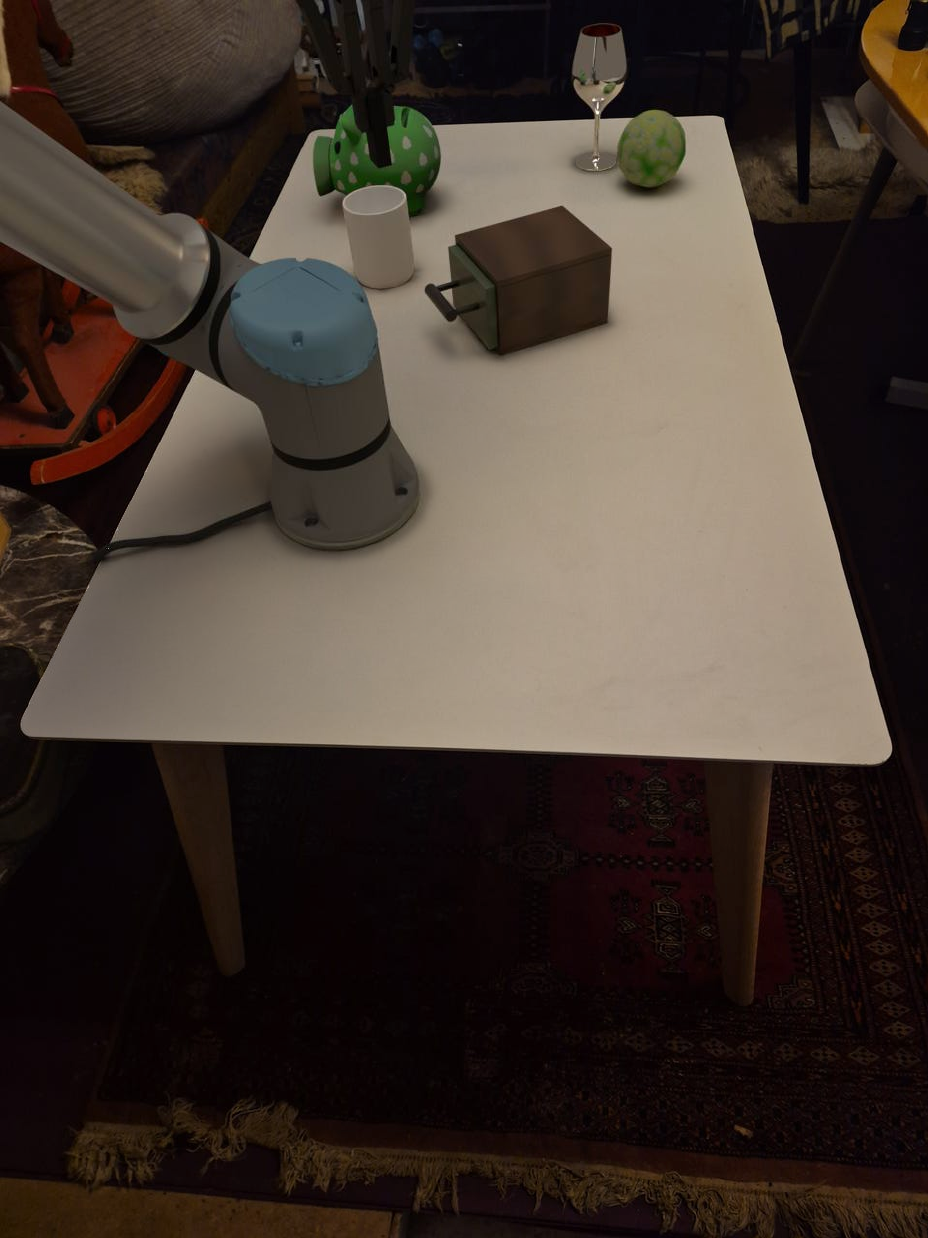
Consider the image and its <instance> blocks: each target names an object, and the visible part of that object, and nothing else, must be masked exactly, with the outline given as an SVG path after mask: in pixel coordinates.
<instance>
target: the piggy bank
mask: <svg viewBox="0 0 928 1238" xmlns="http://www.w3.org/2000/svg"><path fill="white" fill-rule="evenodd" d="M394 113H395V123H394V125H393V126H389V127H387V131H388V138H389V146H390V153H391V161H392V165H391V166H387V167H383V168H379V169H378V168H377V167H376V165H375V164H374V163H373V162H372V161H371V160H370V156H369V149H368V143H367V136H366V132H365V133H362V132H361V131H360V130H359V129H358V128H357V126H356V124H355V120H354V114H353V107H352V104H350V106H349V107H348V108H347V109H346V110H345V111H344V112H343V113H342V114H340V115H339V119H338V120H337V124H336V126H335V130H334V134H333V137H331V136H325V135H317V137H316V138H315V140H314V143H313V149H312V169H313V177H314V183H315V188H316V191H317V194H318V196H319V197H324V196H326V195H329V194H332V193H333V192H334V191H336V192H338V193H340V194H342V195H345V197H346V196H347V195H349V194H350V193H352V192H354V191H356V190H358V189H361V188H365V187H370V186H379V185H384V186H393V187H396V188H399V189H401V190H402V191H403V192H404V193H405V194H406V199H407V207H408V215H409V217H411V216H418V215H420V214H421V213H422V212H423V210H424V208H425V206H426V196H427V193H428V192H429V191H430V190H431V189H432V188H433V186H434V185H435V182H436V181H437V179H438V175H439V174H440V169H441V162H442V152H441V146H440V140H439V138H438V135H437V131H436V129H435V128H434V126H433V124H432V122H430V120H429V119H428V118H427V117H426V116H425V115H423V113H421V112H419V111H418V110H416V109H414V108H411V107H408V106H401V105H400V106H399V105H398V106H397V105H394Z"/></svg>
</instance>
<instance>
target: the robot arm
mask: <svg viewBox="0 0 928 1238" xmlns="http://www.w3.org/2000/svg"><path fill="white" fill-rule="evenodd" d="M294 1H295V3H296V4H297V6H298V8H299V11H300V13H301V16H302V18H303V22H304V23H305V26H306V28H307V31H308V33H309V37H310V39H311V41H312V45H313V46H314V48H315V51H316V53H317V56H318V58H319V61H320V64H321V66H322V69H323V71H324V74H325V76H326V78H327V81H328V84H329V86H331V87H332V89H334V91H335V92H336V93H337V94H339V95H340V96H345V95H347V96H350V100H351V101H350V102H351V105H352V107H353V114H354V120H355V124H356V126H357V128H358V129H359V130H360V131H361V132H362V133H365V132H366V136H367V143H368V149H369V156H370V160H371V161H372V162H373V163H374V164H375V165H376V167H377V168H378V169H379V168H383V167H387V166H391V165H392V161H391V153H390V146H389V138H388V131H387V127H389V126H393V125H394V123H395V113H394V106H395V105H394V98H393V93H394V92H395V90H396V84H398V83H399V82H400V81H406V80H407V79H408V78H409V76H410V65H411V53H412V45H413V44H412V43H413V42H412V41H413V29H414V19H415V18H414V17H415V8H416V7H415V6H416V0H392V1H393V2H392V16H391V29H390V43H389V44H390V45H389V46H388V38H387V30H386V23H385V15H384V13H385V12H384V7H385V1H384V0H360V3H361V7H362V12H363V19H364V28H365V34H366V43H367V49H368V56H369V63H370V64H369V65H370V69H371V78H372V81H373V83H374V86H368V87H367V80H366V73H365V66H364V58H363V51H362V44H361V38H360V30H359V24H358V15H357V13H358V6H357V0H332V3H333V6H334V9H335V13H336V20H337V25H338V26H337V27H338V32H339V33H338V34H339V39H340V47H341V52H342V59H343V64H344V71H343V69H342V66H341V63H340V61H339V58H338V56H337V52H336V49H335V48H334V44H333V42H332V40H331V37H330V34H329V32H328V29H327V27H326V24H325V22H324V19H323V16H322V13H321V11H320V9H319V6H318V5H317V2H316V0H294ZM344 72H345V73H344ZM0 243H3V244H4V245H6V246H7V247H9V248H11V249H13V250H15V251H16V252H18V253H20V254H22V255H23V256H25V257H27V258H29V259H31V260H33V262H36V263H38V264H39V265H41V266H43V267H45V268H46V269H48V270H50V271H51V272H53V273H55V274H57V275H59V276H61V277H62V278H64V279H66V280H68V281H69V282H71V283H73V284H75V285H77V286H78V287H80V288H82V289H83V290H86V291H87V292H89V293H91V294H93V295H95V296H96V297H98V298H100V299H101V300H103V301H105V302H107V303H108V304H110V305H112V306H113V307H112V308H113V312H114V315H115V317H116V320H117V322H118V323H119V325H120V326H121V328H122V329H123V330H124V331H126V332H127V333H128V334H129V335H131V336H133V337H135V338H136V339H138V340H140V341H142V342H143V343H145V344H147V345H149V346H151V347H153V348H155V349H156V350H157V351H159V352H160V353H161V354H163V355H165V356H167V357H168V358H170V359H172V360H174V361H176V362H179V363H181V364H184V365H186V366H188V367H190V368H192V369H193V370H195V371H197V372H199V373H201V374H202V375H204V376H206V377H208V378H210V379H211V380H213V381H215V382H217V383H218V384H220V385H222V386H224V387H226V388H227V389H229V390H230V391H233V392H234V393H236V394H238V395H240V396H242V397H243V398H245V399H247V400H249V401H251V402H252V403H254V404H255V405H256V407H257V408H258V409H259V411H260V414H261V417H262V419H263V423H264V426H265V430H266V433H267V435H268V439H269V442H270V445H271V448H272V460H271V471H270V482H269V499H270V500H269V501H267V502H263V503H260V504H258V505H256V506H253V507H250V508H248V509H245V510H243V511H239V512H238V513H235V514H233V515H230V516H227V517H225V518H222V519H221V520H218V521H215V522H213V523H212V524H209V525H207V526H204V527H203V528H201V529H197V530H195V531H192V532H188V533H184V534H168V535H157V536H150V537H138V538H137V537H136V538H127V539H126V538H125V539H119V540H115V541H111V542H109V543H107V544H105V545H104V546H102V547H100V548H99V549H98V550H97V551H96V552H95V553H94V554H93V557H92V558H91V563H92V564H99V563H100V562H102V561H103V560H104V558H106V556H107V555H109V554H110V553H113V552H115V551H118V550H124V549H131V548H145V547H153V546H161V545H179V544H186V543H191V542H195V541H198V540H201V539H203V538H206V537H208V536H209V535H212V534H214V533H217V532H218V531H221V530H223V529H226V528H228V527H230V526H233V525H235V524H238V523H240V522H244V521H245V520H248V519H251V518H253V517H256V516H258V515H261V514H264V513H266V512H269V511H271V510H272V513H273V516H274V520H275V522H276V524H277V525H278V527H279V528H280V530H281V531H282V532H283V533H284V534H285V535H286V536H288V538H290V539H292V540H293V541H295V542H297V543H299V544H301V545H304V546H307V547H310V548H314V549H319V550H331V551H335V550H336V551H337V550H338V551H339V550H350V549H355V548H360V547H364V546H367V545H370V544H373V543H375V542H378V541H380V540H382V539H384V538H386V537H387V536H390V535H392V534H394V533H395V532H396V531H397V530H399V529H400V528H401V527H402V526H403V525H404V524H405V523H406V522H407V521H408V520H409V519H410V518H411V516H412V515H413V513H414V512H415V510H416V508H417V506H418V504H419V499H420V495H421V488H420V481H419V474H418V472H417V469H416V466H415V462H414V461H413V458H412V457H411V456H410V454H409V452H408V450H407V449H406V447H405V446H404V444H403V442H402V441H401V439H400V438H399V435H398V434H397V433H396V431H395V429H394V427H393V426H392V422H391V417H390V411H389V404H388V398H387V391H386V383H385V378H384V371H383V364H382V357H381V352H380V346H379V337H378V328H377V323H376V320H375V319H374V315H373V312H372V308H371V306H370V305H371V304H370V302H369V301H370V300H369V299H368V295H367V293H366V291H365V290H364V288H363V287H362V286H363V285H362V284H361V283H360V282H359V280H358V279H357V278H356V277H354V275H352V274H350V272H348V271H347V270H345V269H344V268H342V267H341V266H338V265H336V264H334V263H331V262H328V261H325V260H322V259H318V258H311V257H306V258H305V259H304V260H301V261H299V260H297V258H296V257H286V258H279V259H274V260H269V261H267V262H264V263H262V264H261V263H260V262H257V261H255V260H253V259H252V258H249V257H248V256H246V255H245V254H243V253H241V252H240V251H238V250H237V249H235V248H234V247H233V246H231V245H230V244H228V243H227V242H226V241H224V239H222V238H221V237H219V236H218V235H217V234H215V233H213V232H212V231H211V230H210V229H209V228H207V227H206V226H204V225H203V224H201V223H200V222H199V221H198V220H196V219H195V218H193V217H192V216H190V215H188V214H184V213H180V212H170V213H166V214H163V215H159V214H158V213H156V211H154V210H152V208H150V207H148V206H147V205H145V204H144V203H143V202H141V201H140V200H139V199H138V198H135V197H134V195H131V194H130V193H129V192H128V191H126V190H124V189H123V188H122V187H120V186H119V185H118V184H117V183H115V182H113V181H112V180H111V179H109V178H108V177H107V176H105V175H103V174H102V173H101V172H99V171H98V170H97V169H96V168H94V167H93V166H91V165H90V164H89V163H87V162H85V161H84V160H83V159H82V158H80V157H79V156H77V155H76V154H75V153H73V152H72V151H70V150H69V149H67V148H66V147H65V146H64V145H62V144H61V143H59V142H58V141H57V140H55V139H54V138H52V137H51V136H49V135H48V134H47V133H45V132H44V131H42V130H41V129H40V128H39V127H37V126H35V125H34V124H33V123H31V122H30V121H28V120H27V119H26V118H24V117H23V116H22V115H20V114H19V113H18V112H16V111H14V110H13V109H12V108H11V107H9V106H7V105H6V104H5V103H3V102H2V101H1V100H0ZM108 548H109V549H108Z"/></svg>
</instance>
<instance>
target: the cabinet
mask: <svg viewBox="0 0 928 1238" xmlns="http://www.w3.org/2000/svg"><path fill="white" fill-rule="evenodd" d="M454 241H455V242H454V243H455V245H456V244H457V245H458V246H459V247H460V248H461V249H462V250H463V251H464V253H465V254H466V255H467V256H468V257H469V258H471V259H472V260H473V261H474V262H475V263H476V264H477V265H478V266H479V268H480V269H481V270H482V271H483V272H484V273H485V274H486V275H487V276H488V277H489V278H490V280H491V281H492V282H493V283H494V284H495V290H496V310H497V330H498V347H496V348H494V349H495V350H496V352H497V353H498V354H499V355H500V356H505V355H508V354H512V353H514V352H517V351H520V350H521V351H522V350H524V349H527V348H531V347H533V346H537V345H540V344H544V343H547V342H550V341H553V340H557V339H560V338H563V337H566V336H569V335H572V334H576V333H579V332H582V331H585V330H589V329H593V328H595V327H599V326H601V325H605V324H607V323H608V322H609V309H610V293H611V292H610V289H611V277H612V276H611V275H612V274H611V273H612V259H613V247H612V246H610V245H609V244H608V243H607V242H606V241H604V239H602V238H601V237H600V236H599V235H598V234H596V232H594V231H593V230H592V229H590V228H589V227H588V226H587V225H586V224H585V223H584V222H582V220H581V219H579V218H578V217H577V216H576V215H574V214H573V213H572V212H571V211H569V209H567V208H566V207H565V206H564V205H559V206H555V207H551V208H548V209H543V210H540V211H536V212H534V213H533V212H532V213H529V214H526V215H523V216H518V217H515V218H511V219H508V220H504V221H500V222H497V223H493V224H490V225H489V224H488V225H486V226H483V227H479V228H476V229H472V230H468V231H464V232H460V233H457V234H454Z"/></svg>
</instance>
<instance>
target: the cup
mask: <svg viewBox="0 0 928 1238" xmlns="http://www.w3.org/2000/svg"><path fill="white" fill-rule="evenodd" d="M341 204H342V205H341V206H342V210H343V216H344V222H345V226H346V232H347V237H348V243H349V249H350V254H351V260H352V266H353V272H354V275H355V278H356V280H357V281H358V282H359V284H360V285H362V286H365V287H368V288H370V289H378V290H379V289H380V290H381V289H382V290H383V289H390V288H394V287H398V286H401V285H404V284H405V283H406V282H408V281H409V280H410V279H411V278H412V276H413V275H414V272H415V257H414V256H415V255H414V249H413V247H414V246H413V240H412V232H411V225H410V224H411V223H410V216H409V215H408V207H407V199H406V194H405V193H404V192H403V191H402V190H401V189H399V188H396V187H393V186H384V185H379V186H370V187H365V188H361V189H358V190H356V191H354V192H352V193H350V194H349V195H347V196H346V195H345V197H344V198H343V200H342V203H341Z"/></svg>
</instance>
